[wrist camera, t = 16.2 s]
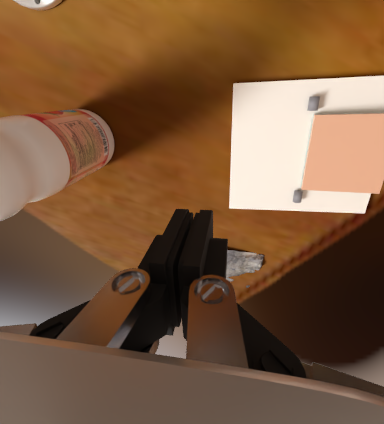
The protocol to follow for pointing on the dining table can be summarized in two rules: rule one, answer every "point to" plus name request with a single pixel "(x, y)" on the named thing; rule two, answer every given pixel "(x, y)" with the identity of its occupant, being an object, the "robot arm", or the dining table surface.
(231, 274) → the stone slab
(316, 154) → the tile
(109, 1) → the dining table surface
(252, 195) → the board
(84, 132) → the fruit juice
